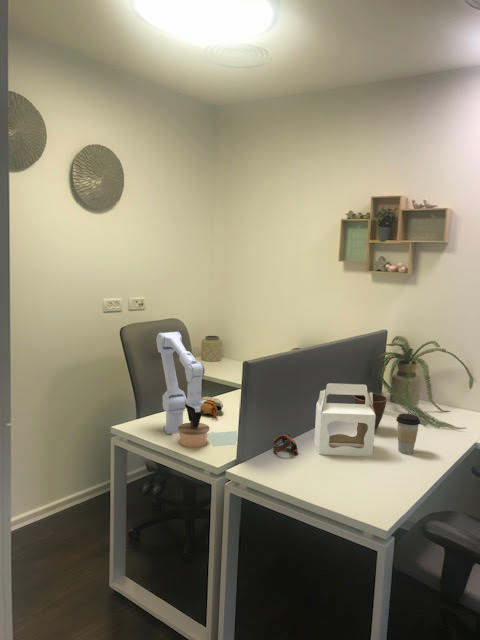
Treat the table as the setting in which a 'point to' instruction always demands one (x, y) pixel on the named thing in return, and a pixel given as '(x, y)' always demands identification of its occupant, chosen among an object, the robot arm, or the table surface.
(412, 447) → the coffee cup
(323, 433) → the gable box
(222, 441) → the rubber mat
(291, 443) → the brown openwork dome
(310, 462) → the table surface
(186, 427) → the walnut lid
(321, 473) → the table surface
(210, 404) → the nautilus
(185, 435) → the terracotta bowl
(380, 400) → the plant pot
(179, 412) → the robot arm
